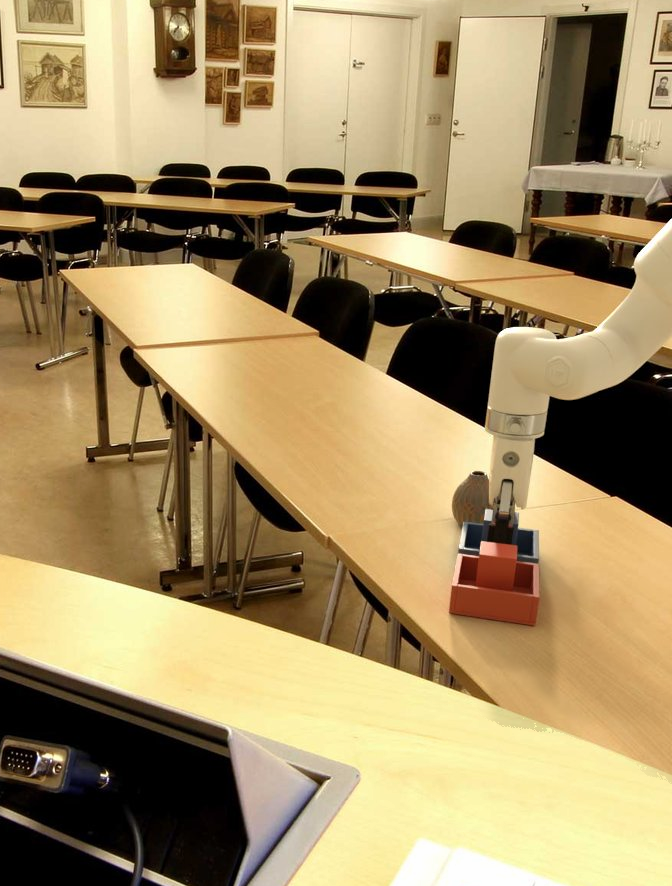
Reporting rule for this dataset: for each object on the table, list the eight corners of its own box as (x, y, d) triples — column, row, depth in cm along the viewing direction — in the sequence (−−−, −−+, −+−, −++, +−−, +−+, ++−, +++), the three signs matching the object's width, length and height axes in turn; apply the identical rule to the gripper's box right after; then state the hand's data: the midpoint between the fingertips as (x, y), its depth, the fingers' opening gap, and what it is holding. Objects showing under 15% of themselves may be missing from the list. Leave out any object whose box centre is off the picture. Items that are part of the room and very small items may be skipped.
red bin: (535, 590, 123) (539, 563, 122) (535, 626, 114) (539, 597, 113) (454, 579, 127) (457, 553, 125) (448, 613, 118) (451, 585, 116)
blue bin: (535, 555, 134) (538, 530, 132) (535, 585, 125) (539, 558, 123) (460, 545, 137) (463, 521, 136) (455, 574, 128) (458, 548, 127)
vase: (458, 513, 149) (463, 462, 145) (501, 522, 145) (508, 470, 141) (443, 527, 144) (449, 476, 140) (488, 537, 140) (494, 484, 136)
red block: (510, 593, 122) (517, 545, 119) (509, 608, 118) (516, 559, 115) (475, 587, 123) (481, 540, 121) (473, 602, 119) (479, 554, 117)
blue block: (512, 557, 132) (519, 512, 129) (512, 569, 128) (518, 524, 125) (479, 552, 133) (485, 508, 131) (478, 565, 130) (484, 520, 127)
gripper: (546, 442, 114) (526, 571, 121) (544, 406, 129) (527, 523, 136) (482, 436, 117) (467, 563, 124) (488, 402, 131) (474, 517, 138)
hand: (498, 541), depth 130 cm, fingers open, 5 cm apart
